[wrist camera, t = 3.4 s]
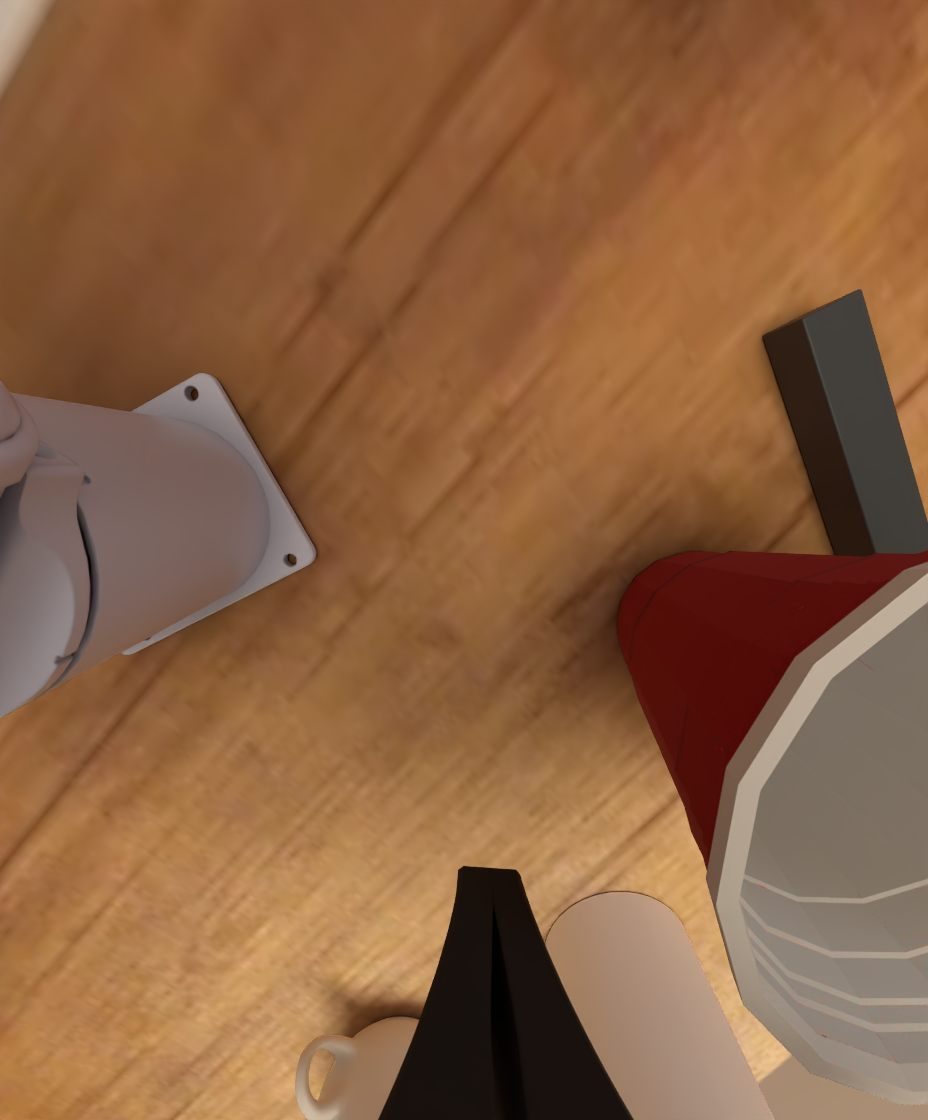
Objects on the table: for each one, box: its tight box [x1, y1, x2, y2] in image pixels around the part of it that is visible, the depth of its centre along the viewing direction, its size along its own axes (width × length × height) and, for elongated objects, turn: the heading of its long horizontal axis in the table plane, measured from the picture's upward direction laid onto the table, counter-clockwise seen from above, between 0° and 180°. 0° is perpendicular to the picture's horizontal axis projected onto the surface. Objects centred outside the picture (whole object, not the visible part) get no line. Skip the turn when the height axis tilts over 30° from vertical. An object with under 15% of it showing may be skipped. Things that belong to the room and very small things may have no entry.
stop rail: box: [763, 290, 928, 557], centre depth 17 cm, size 2×18×2 cm, turn 26°
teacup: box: [295, 1017, 419, 1120], centre depth 21 cm, size 10×8×5 cm
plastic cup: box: [617, 550, 928, 1105], centre depth 13 cm, size 11×11×12 cm
